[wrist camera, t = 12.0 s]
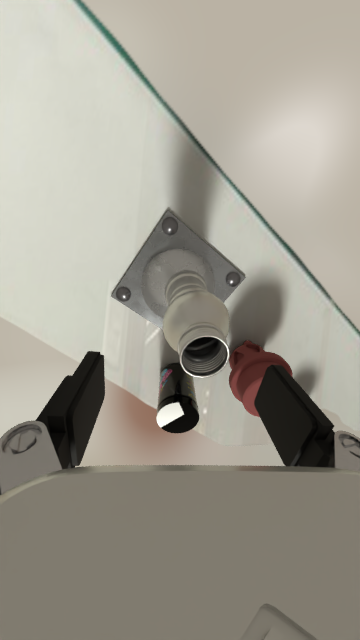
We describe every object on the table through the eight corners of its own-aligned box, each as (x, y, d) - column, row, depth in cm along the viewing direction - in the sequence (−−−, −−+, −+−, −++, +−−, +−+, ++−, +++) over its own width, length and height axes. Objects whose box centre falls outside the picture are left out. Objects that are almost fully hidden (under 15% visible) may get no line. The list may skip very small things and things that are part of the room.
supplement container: (174, 355, 39) (176, 395, 29) (199, 373, 41) (208, 416, 31) (152, 377, 40) (147, 421, 31) (177, 393, 42) (179, 439, 33)
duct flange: (111, 295, 33) (109, 297, 32) (167, 210, 29) (167, 209, 28) (185, 344, 38) (186, 346, 37) (244, 277, 33) (246, 278, 32)
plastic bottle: (157, 295, 33) (141, 372, 14) (179, 258, 30) (192, 295, 12) (189, 313, 34) (213, 405, 16) (212, 280, 32) (270, 341, 14)
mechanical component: (216, 374, 41) (224, 330, 37) (262, 375, 42) (275, 333, 38) (233, 427, 30) (247, 373, 26) (297, 428, 30) (320, 375, 26)
